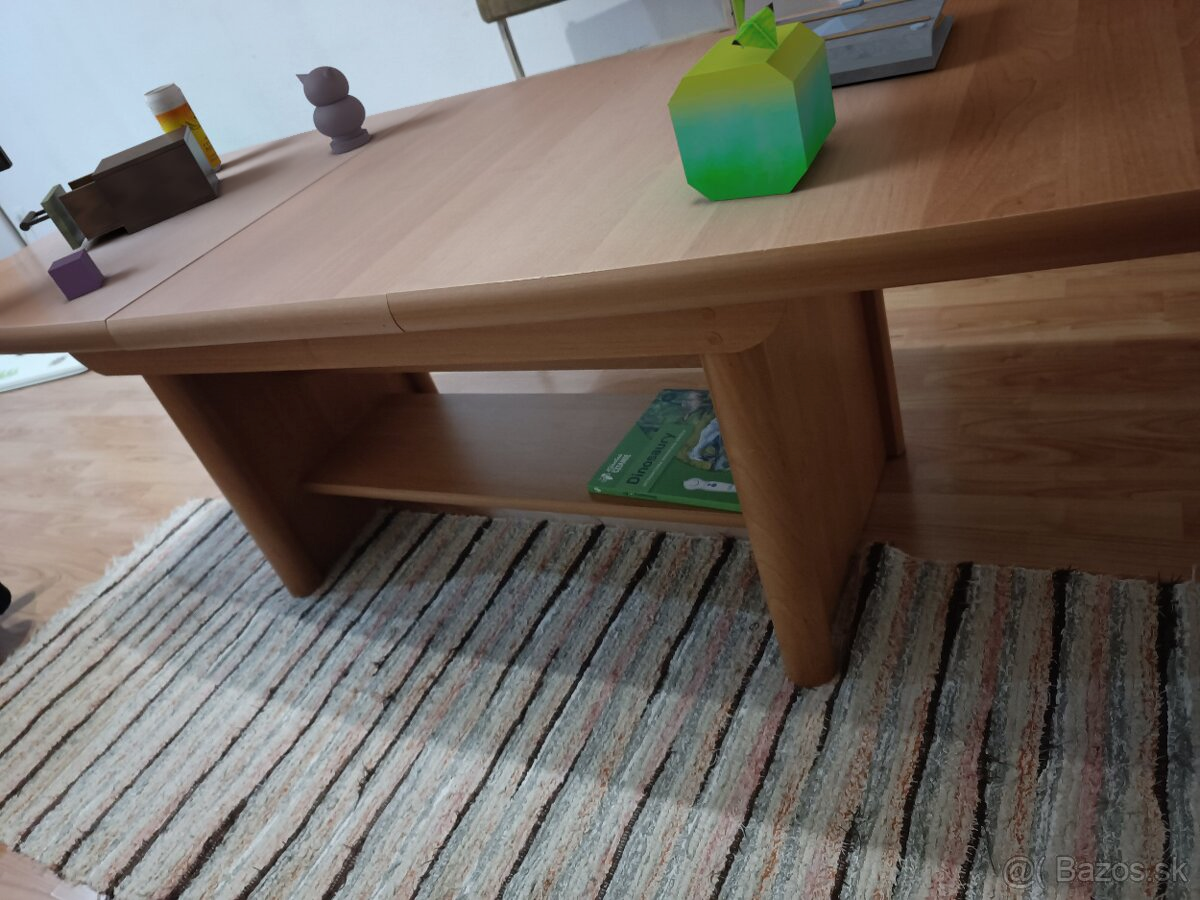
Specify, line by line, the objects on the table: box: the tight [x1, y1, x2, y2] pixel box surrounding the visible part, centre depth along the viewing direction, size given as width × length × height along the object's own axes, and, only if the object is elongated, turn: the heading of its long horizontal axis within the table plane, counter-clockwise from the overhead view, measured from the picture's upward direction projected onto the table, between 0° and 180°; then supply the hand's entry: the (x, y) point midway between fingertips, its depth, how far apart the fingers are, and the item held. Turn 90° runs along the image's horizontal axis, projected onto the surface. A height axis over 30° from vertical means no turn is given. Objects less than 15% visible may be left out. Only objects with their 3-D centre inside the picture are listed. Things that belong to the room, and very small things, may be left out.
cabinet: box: [91, 125, 220, 235], centre depth 139 cm, size 15×13×10 cm
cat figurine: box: [295, 65, 372, 155], centre depth 134 cm, size 8×8×12 cm
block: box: [47, 248, 105, 302], centre depth 116 cm, size 4×4×4 cm
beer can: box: [143, 82, 222, 173], centre depth 151 cm, size 6×6×15 cm
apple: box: [667, 0, 837, 202], centre depth 74 cm, size 11×10×15 cm
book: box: [775, 0, 955, 87], centre depth 94 cm, size 21×16×5 cm
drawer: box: [18, 171, 124, 251], centre depth 137 cm, size 19×11×8 cm, turn 111°
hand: (5, 169), depth 130 cm, fingers closed
